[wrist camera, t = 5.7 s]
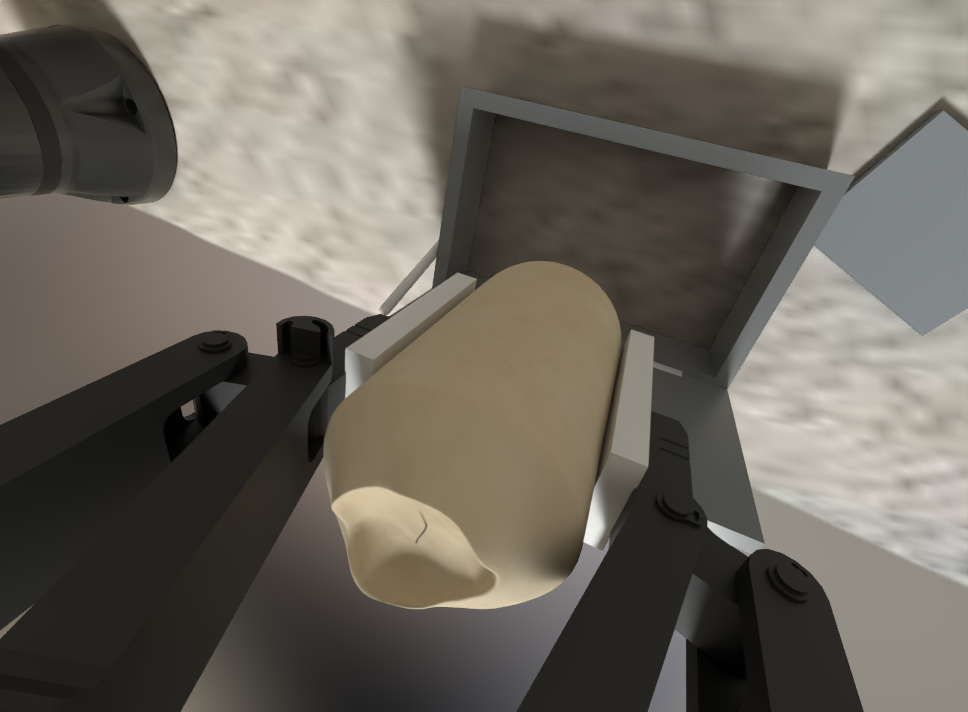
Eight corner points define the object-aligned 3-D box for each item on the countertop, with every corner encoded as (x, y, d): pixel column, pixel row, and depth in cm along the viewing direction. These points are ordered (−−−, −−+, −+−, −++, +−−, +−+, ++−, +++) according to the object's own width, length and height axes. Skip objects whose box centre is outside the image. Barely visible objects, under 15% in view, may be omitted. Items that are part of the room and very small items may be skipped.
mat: (797, 231, 27) (799, 232, 27) (937, 111, 23) (943, 110, 22) (917, 332, 27) (922, 335, 27) (1081, 231, 23) (1089, 233, 23)
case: (446, 280, 38) (308, 372, 23) (476, 89, 30) (302, 48, 16) (713, 371, 33) (752, 558, 18) (827, 170, 26) (1041, 216, 11)
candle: (545, 424, 17) (433, 697, 9) (445, 328, 17) (231, 517, 9) (659, 341, 14) (652, 637, 6) (539, 222, 14) (352, 356, 6)
